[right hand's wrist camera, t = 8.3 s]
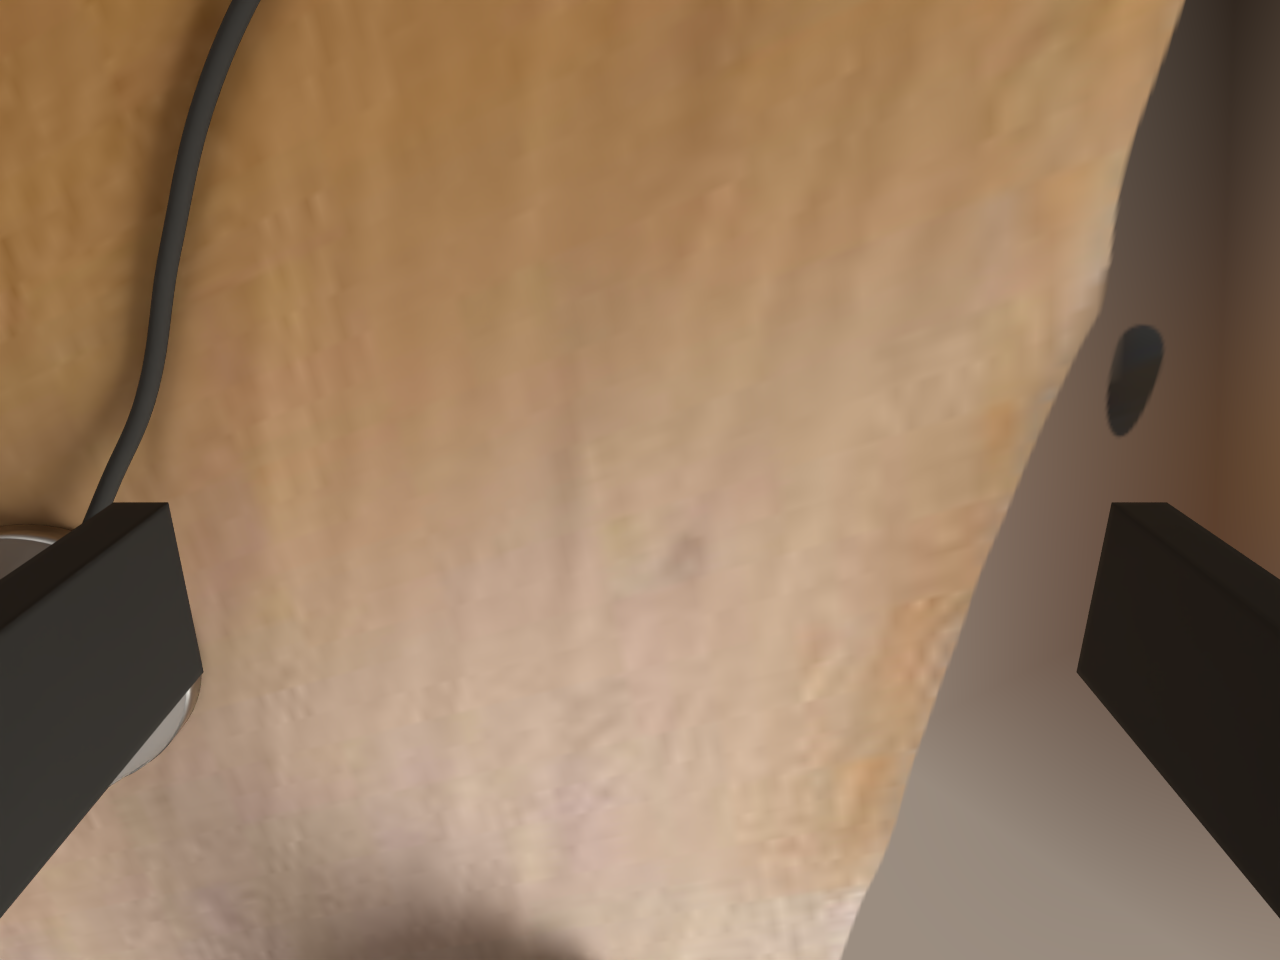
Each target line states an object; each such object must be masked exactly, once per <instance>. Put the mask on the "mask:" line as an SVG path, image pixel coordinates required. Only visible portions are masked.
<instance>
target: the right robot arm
mask: <svg viewBox="0 0 1280 960" xmlns="http://www.w3.org/2000/svg"><path fill="white" fill-rule="evenodd" d="M259 2H260V0H232V2H231V4H230V6H229V8H228V10H227V12H226V14H225V16H224V19H223V21H222V23H221V25H220V28H219V30H218V32H217V34H216V37H215V39H214V42H213V44H212V46H211V49H210V52H209V54H208V57H207V59H206V62H205V65H204V67H203V70H202V73H201V76H200V78H199V81H198V84H197V87H196V90H195V93H194V96H193V99H192V103H191V106H190V109H189V112H188V116H187V119H186V123H185V127H184V130H183V134H182V138H181V142H180V146H179V151H178V155H177V160H176V164H175V169H174V174H173V179H172V185H171V190H170V195H169V200H168V206H167V211H166V217H165V222H164V227H163V232H162V237H161V243H160V248H159V253H158V258H157V264H156V270H155V277H154V284H153V292H152V300H151V309H150V318H149V327H148V335H147V342H146V349H145V355H144V361H143V366H142V371H141V376H140V380H139V384H138V388H137V392H136V396H135V399H134V402H133V406H132V409H131V411H130V414H129V417H128V420H127V422H126V425H125V427H124V429H123V431H122V434H121V436H120V438H119V440H118V442H117V444H116V447H115V449H114V451H113V453H112V455H111V457H110V459H109V461H108V463H107V466H106V468H105V470H104V472H103V475H102V477H101V479H100V482H99V484H98V486H97V489H96V491H95V494H94V496H93V498H92V501H91V503H90V506H89V508H88V511H87V513H86V515H85V518H84V520H83V523H82V524H81V525H79V526H78V527H77V528H75V529H74V530H72V531H71V530H67V529H63V528H58V527H52V526H45V525H32V524H28V525H9V526H1V527H0V918H1V917H2V916H3V914H4V913H5V912H6V911H7V909H8V908H9V907H10V906H11V905H12V903H13V902H14V901H15V900H16V899H17V897H18V896H19V895H20V894H21V893H22V891H23V890H24V889H25V888H26V886H27V885H28V884H29V883H30V882H31V880H32V879H33V878H34V877H35V876H36V874H37V873H38V872H39V871H40V869H41V868H42V867H43V866H44V865H45V863H46V862H47V861H48V860H49V859H50V857H51V856H52V855H53V854H54V853H55V851H56V850H57V849H58V848H59V846H60V845H61V844H62V843H63V842H64V840H65V839H66V838H67V837H68V836H69V834H70V833H71V832H72V831H73V830H74V828H75V827H76V826H77V825H78V823H79V822H80V821H81V820H82V819H83V817H84V816H85V815H86V814H87V813H88V811H89V810H90V809H91V808H92V806H93V805H94V804H95V803H96V802H97V800H98V799H99V798H100V797H101V796H102V794H103V793H104V792H105V791H106V790H107V788H108V787H109V786H111V785H112V784H114V783H116V782H117V781H119V780H120V779H122V778H123V777H125V776H128V775H130V774H132V773H134V772H136V771H137V770H139V769H140V768H142V767H143V766H145V765H146V764H147V763H149V762H150V761H152V760H153V759H154V758H155V757H157V756H158V755H159V754H160V753H161V752H162V751H163V750H164V749H165V748H166V747H167V746H168V745H169V743H170V742H171V741H172V740H173V738H174V737H175V736H176V734H177V733H178V732H179V731H180V729H181V728H182V727H183V725H184V724H185V723H186V721H187V720H188V718H189V717H190V715H191V713H192V711H193V709H194V707H195V704H196V702H197V699H198V695H199V691H200V685H201V674H202V673H203V668H202V663H201V658H200V653H199V648H198V644H197V639H196V634H195V629H194V624H193V619H192V615H191V610H190V605H189V600H188V595H187V591H186V586H185V581H184V576H183V571H182V566H181V562H180V557H179V552H178V547H177V542H176V538H175V533H174V528H173V523H172V518H171V513H170V509H169V504H168V503H113V501H114V498H115V496H116V494H117V491H118V489H119V486H120V484H121V482H122V479H123V477H124V475H125V473H126V471H127V469H128V466H129V464H130V462H131V460H132V458H133V456H134V454H135V452H136V450H137V448H138V446H139V443H140V441H141V439H142V437H143V435H144V432H145V430H146V427H147V425H148V422H149V420H150V417H151V414H152V411H153V408H154V405H155V401H156V397H157V394H158V390H159V386H160V382H161V378H162V373H163V368H164V363H165V357H166V351H167V344H168V337H169V329H170V321H171V313H172V305H173V297H174V290H175V283H176V277H177V271H178V265H179V260H180V255H181V250H182V245H183V240H184V235H185V230H186V225H187V220H188V215H189V210H190V205H191V200H192V195H193V190H194V185H195V180H196V175H197V171H198V166H199V162H200V158H201V154H202V150H203V145H204V142H205V138H206V134H207V131H208V127H209V124H210V121H211V117H212V114H213V111H214V108H215V105H216V102H217V99H218V96H219V94H220V91H221V88H222V85H223V83H224V80H225V77H226V75H227V72H228V69H229V67H230V64H231V62H232V59H233V57H234V55H235V52H236V50H237V48H238V45H239V43H240V41H241V39H242V37H243V34H244V32H245V30H246V28H247V26H248V24H249V22H250V20H251V18H252V16H253V14H254V12H255V10H256V8H257V6H258V4H259ZM1077 673H1078V674H1079V676H1080V677H1081V678H1082V679H1083V681H1084V682H1085V683H1086V684H1087V685H1088V687H1089V688H1090V689H1091V690H1092V691H1093V693H1094V694H1095V695H1096V696H1097V697H1098V699H1099V700H1100V701H1101V702H1102V704H1103V705H1104V706H1105V707H1106V708H1107V710H1108V711H1109V712H1110V713H1111V714H1112V716H1113V717H1114V718H1115V719H1116V720H1117V722H1118V723H1119V724H1120V725H1121V727H1122V728H1123V729H1124V730H1125V731H1126V733H1127V734H1128V735H1129V736H1130V737H1131V739H1132V740H1133V741H1134V742H1135V744H1136V745H1137V746H1138V747H1139V748H1140V750H1141V751H1142V752H1143V753H1144V754H1145V756H1146V757H1147V758H1148V759H1149V760H1150V762H1151V763H1152V764H1153V765H1154V767H1155V768H1156V769H1157V770H1158V771H1159V772H1160V774H1161V775H1162V776H1163V777H1164V779H1165V780H1166V781H1167V782H1168V783H1169V785H1170V786H1171V787H1172V788H1173V790H1174V791H1175V792H1176V793H1177V794H1178V796H1179V797H1180V798H1181V799H1182V800H1183V802H1184V803H1185V804H1186V805H1187V807H1188V808H1189V809H1190V810H1191V811H1192V813H1193V814H1194V815H1195V816H1196V817H1197V819H1198V820H1199V821H1200V822H1201V823H1202V825H1203V826H1204V827H1205V828H1206V830H1207V831H1208V832H1209V833H1210V834H1211V836H1212V837H1213V838H1214V839H1215V840H1216V842H1217V843H1218V844H1219V845H1220V846H1221V848H1222V849H1223V850H1224V851H1225V853H1226V854H1227V855H1228V856H1229V857H1230V859H1231V860H1232V861H1233V862H1234V863H1235V865H1236V866H1237V867H1238V868H1239V869H1240V871H1241V872H1242V873H1243V874H1244V876H1245V877H1246V878H1247V879H1248V880H1249V882H1250V883H1251V884H1252V885H1253V886H1254V888H1255V889H1256V890H1257V891H1258V892H1259V894H1260V895H1261V896H1262V897H1263V899H1264V900H1265V901H1266V902H1267V903H1268V905H1269V906H1270V907H1271V908H1272V909H1273V911H1274V912H1275V913H1276V914H1277V915H1278V917H1279V918H1280V579H1278V578H1277V577H1275V576H1274V575H1272V574H1271V573H1269V572H1268V571H1267V570H1265V569H1264V568H1262V567H1261V566H1259V565H1258V564H1256V563H1255V562H1253V561H1252V560H1250V559H1249V558H1247V557H1246V556H1244V555H1243V554H1242V553H1240V552H1239V551H1237V550H1236V549H1234V548H1233V547H1231V546H1230V545H1228V544H1227V543H1225V542H1224V541H1223V540H1221V539H1220V538H1218V537H1217V536H1215V535H1214V534H1212V533H1211V532H1209V531H1208V530H1206V529H1205V528H1203V527H1202V526H1201V525H1199V524H1198V523H1196V522H1195V521H1193V520H1192V519H1190V518H1189V517H1187V516H1186V515H1184V514H1183V513H1181V512H1180V511H1179V510H1177V509H1175V508H1174V507H1173V506H1171V505H1170V504H1168V503H1112V504H1111V509H1110V513H1109V518H1108V523H1107V528H1106V533H1105V538H1104V542H1103V547H1102V552H1101V557H1100V562H1099V566H1098V571H1097V576H1096V581H1095V586H1094V591H1093V595H1092V600H1091V605H1090V610H1089V615H1088V620H1087V624H1086V629H1085V634H1084V639H1083V644H1082V649H1081V653H1080V658H1079V663H1078V668H1077Z"/></svg>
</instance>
